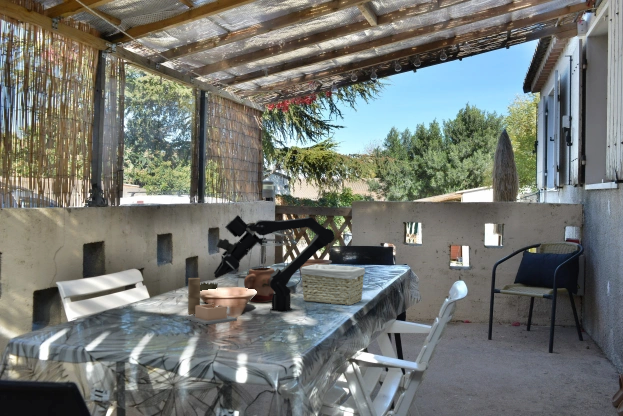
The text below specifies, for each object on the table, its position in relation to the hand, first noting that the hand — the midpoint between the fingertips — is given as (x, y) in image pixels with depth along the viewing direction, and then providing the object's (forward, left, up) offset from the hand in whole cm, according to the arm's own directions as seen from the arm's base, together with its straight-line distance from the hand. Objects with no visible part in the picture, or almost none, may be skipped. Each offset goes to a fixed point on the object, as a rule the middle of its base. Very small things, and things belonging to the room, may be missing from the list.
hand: (214, 275), depth 228 cm
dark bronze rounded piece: (+15, -13, -14) cm, 25 cm away
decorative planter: (0, -28, -14) cm, 32 cm away
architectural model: (+26, -52, -14) cm, 60 cm away
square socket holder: (-10, +13, -14) cm, 21 cm away
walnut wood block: (+3, +8, -14) cm, 16 cm away
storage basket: (-24, -48, -14) cm, 55 cm away
